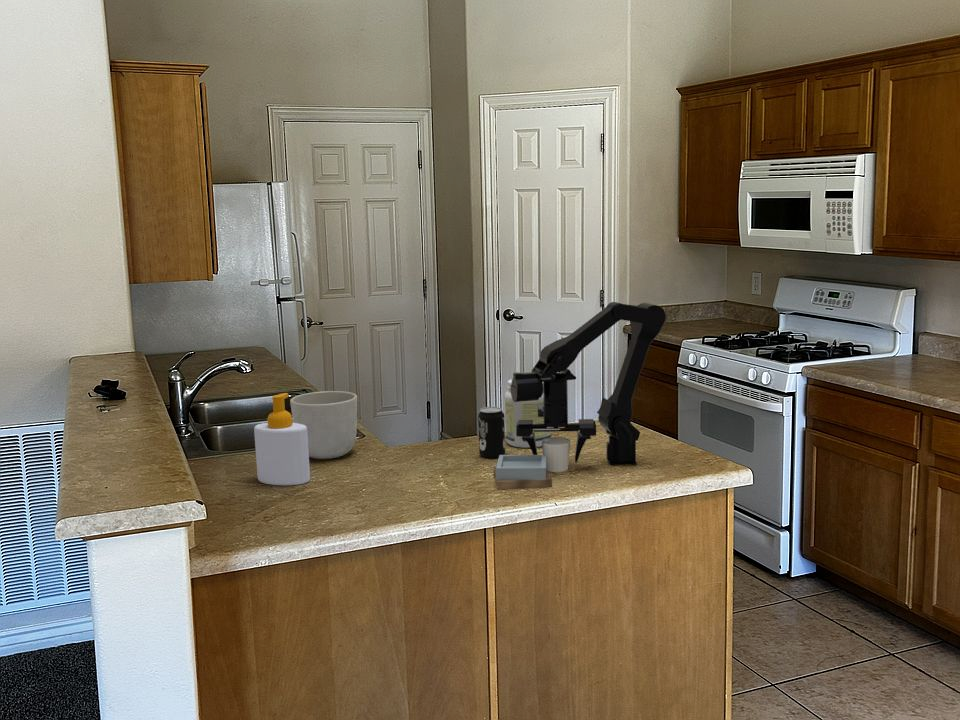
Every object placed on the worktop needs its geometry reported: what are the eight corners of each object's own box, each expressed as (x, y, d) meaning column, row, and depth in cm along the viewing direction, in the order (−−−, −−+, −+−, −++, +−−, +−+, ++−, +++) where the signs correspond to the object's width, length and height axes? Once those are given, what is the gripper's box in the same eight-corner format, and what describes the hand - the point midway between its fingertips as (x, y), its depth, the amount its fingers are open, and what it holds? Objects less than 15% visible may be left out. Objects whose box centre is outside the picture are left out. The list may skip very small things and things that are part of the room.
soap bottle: (317, 477, 211) (312, 393, 208) (299, 487, 203) (294, 401, 200) (269, 473, 215) (263, 391, 212) (249, 483, 208) (243, 398, 204)
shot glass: (540, 465, 216) (539, 437, 214) (568, 464, 216) (567, 436, 215) (544, 473, 209) (543, 444, 208) (573, 472, 209) (573, 443, 208)
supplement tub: (558, 439, 240) (557, 377, 237) (542, 450, 229) (541, 386, 226) (515, 435, 245) (514, 375, 242) (498, 446, 234) (496, 383, 231)
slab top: (546, 465, 209) (546, 454, 208) (545, 479, 198) (545, 468, 198) (499, 466, 210) (499, 454, 209) (496, 480, 199) (496, 468, 199)
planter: (368, 446, 237) (365, 391, 235) (348, 464, 221) (344, 405, 218) (308, 445, 240) (304, 390, 238) (283, 463, 224) (279, 404, 221)
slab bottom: (544, 474, 211) (544, 464, 210) (551, 490, 199) (551, 479, 198) (493, 476, 210) (493, 466, 209) (498, 492, 198) (498, 481, 198)
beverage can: (502, 459, 222) (501, 412, 220) (477, 458, 223) (475, 412, 221) (507, 452, 228) (506, 406, 226) (482, 451, 229) (480, 406, 227)
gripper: (593, 391, 217) (593, 453, 220) (516, 392, 218) (518, 454, 221) (596, 401, 206) (596, 466, 209) (515, 402, 207) (516, 466, 210)
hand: (556, 462), depth 212 cm, fingers open, 9 cm apart
